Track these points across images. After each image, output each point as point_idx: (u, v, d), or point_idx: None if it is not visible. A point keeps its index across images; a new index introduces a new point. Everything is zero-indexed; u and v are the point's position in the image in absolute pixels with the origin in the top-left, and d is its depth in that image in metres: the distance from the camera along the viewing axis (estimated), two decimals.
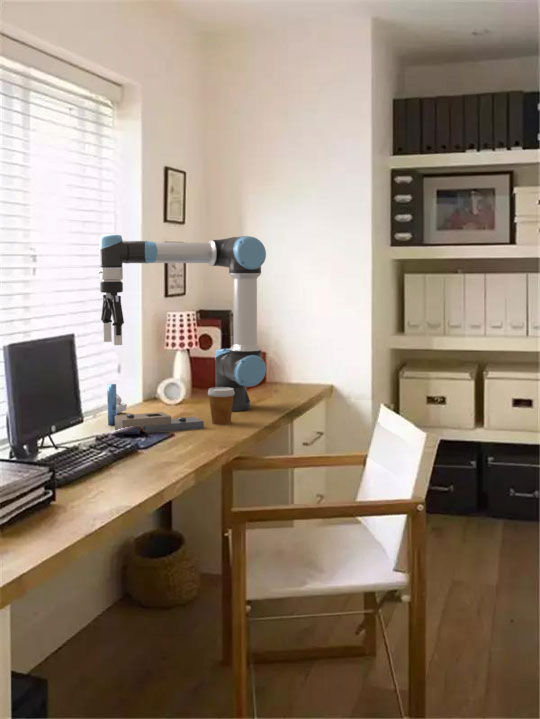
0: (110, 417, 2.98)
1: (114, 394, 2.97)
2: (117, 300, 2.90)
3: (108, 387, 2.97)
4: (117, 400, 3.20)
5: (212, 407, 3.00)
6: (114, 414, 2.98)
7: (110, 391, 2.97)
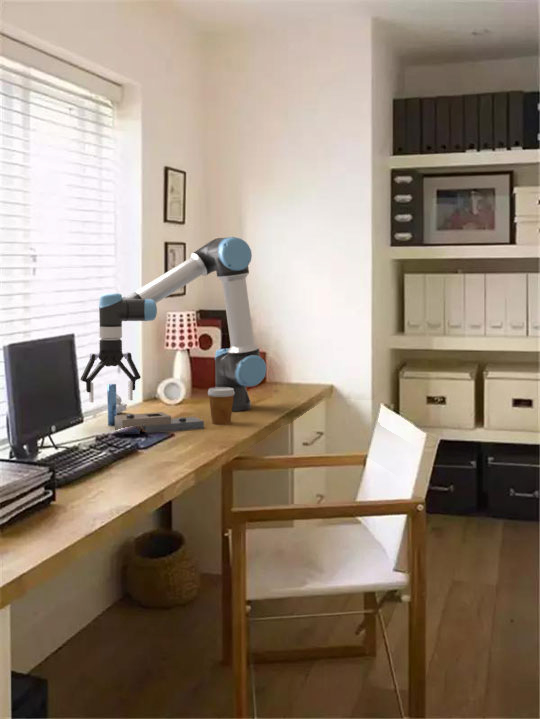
0: (110, 417, 2.98)
1: (114, 394, 2.97)
2: (90, 358, 2.94)
3: (108, 387, 2.97)
4: (117, 400, 3.20)
5: (212, 407, 3.00)
6: (114, 414, 2.98)
7: (110, 391, 2.97)
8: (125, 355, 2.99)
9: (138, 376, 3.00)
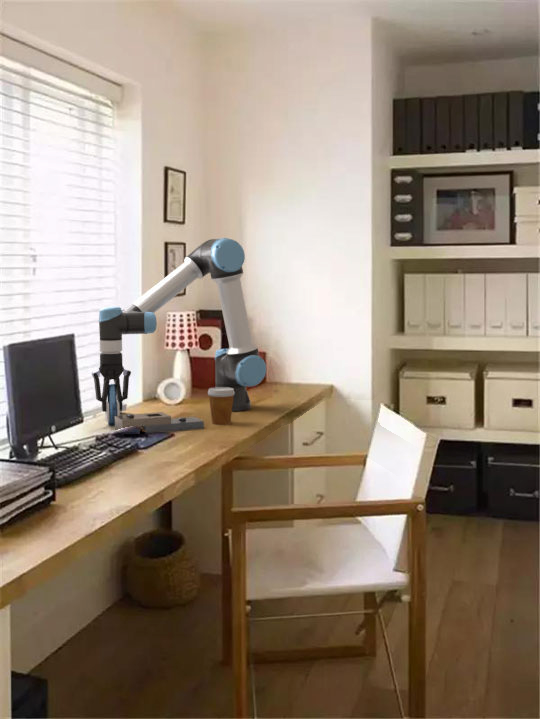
0: (110, 417, 2.98)
1: (114, 394, 2.97)
2: (94, 377, 2.95)
3: (108, 387, 2.97)
4: (117, 400, 3.20)
5: (212, 407, 3.00)
6: (114, 414, 2.98)
7: (110, 391, 2.97)
8: (125, 371, 2.99)
9: (125, 396, 2.99)
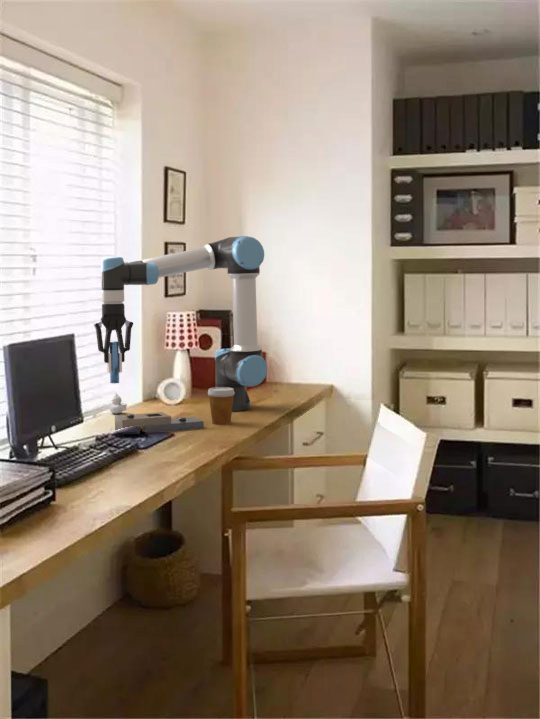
0: (112, 375, 2.95)
1: (116, 351, 2.95)
2: (96, 328, 2.92)
3: (110, 344, 2.95)
4: (117, 400, 3.20)
5: (212, 407, 3.00)
6: (116, 372, 2.96)
7: (112, 348, 2.94)
8: (127, 322, 2.97)
9: (128, 347, 2.97)
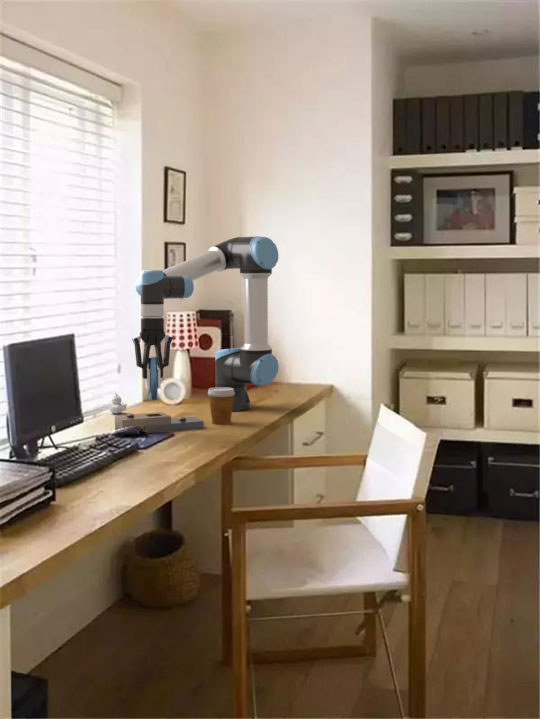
0: (151, 391, 2.87)
1: (155, 367, 2.87)
2: (134, 342, 2.84)
3: (149, 360, 2.86)
4: (117, 400, 3.20)
5: (212, 407, 3.00)
6: (155, 388, 2.87)
7: (151, 363, 2.86)
8: (166, 337, 2.88)
9: (167, 363, 2.89)
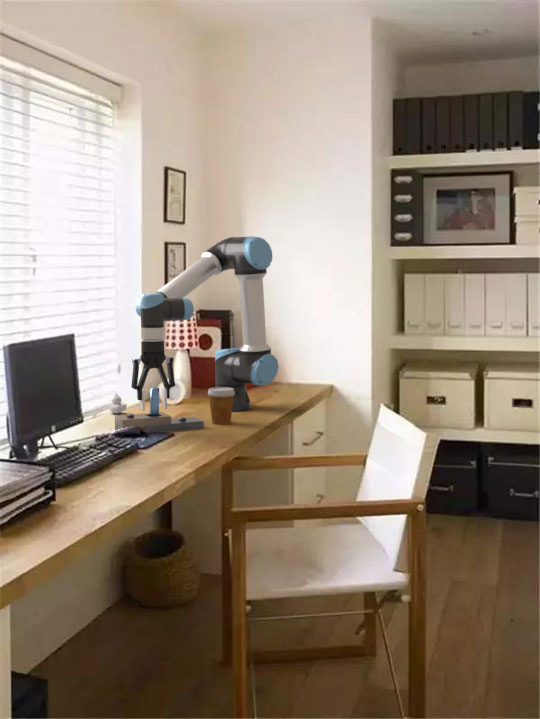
0: None
1: (157, 398, 2.88)
2: (134, 364, 2.85)
3: (151, 391, 2.88)
4: (117, 400, 3.20)
5: (212, 407, 3.00)
6: None
7: (153, 394, 2.88)
8: (167, 359, 2.89)
9: (173, 384, 2.90)
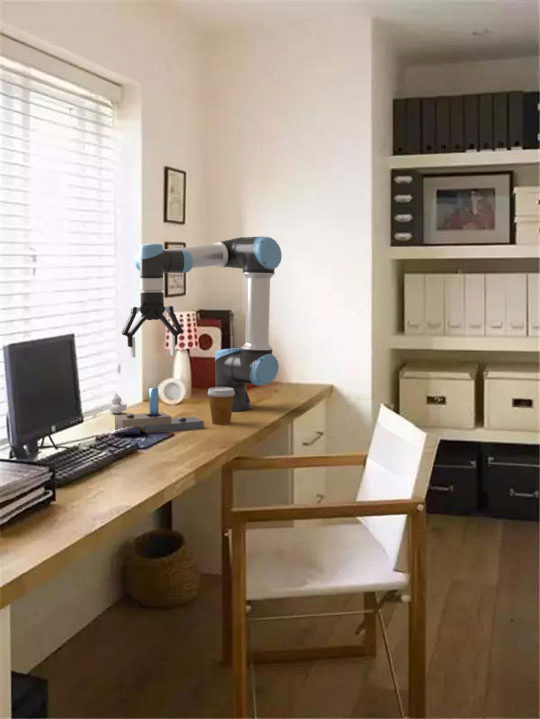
0: None
1: (156, 398, 2.88)
2: (132, 311, 2.83)
3: (150, 391, 2.88)
4: (117, 400, 3.20)
5: (212, 407, 3.00)
6: None
7: (152, 395, 2.87)
8: (167, 308, 2.88)
9: (180, 330, 2.90)
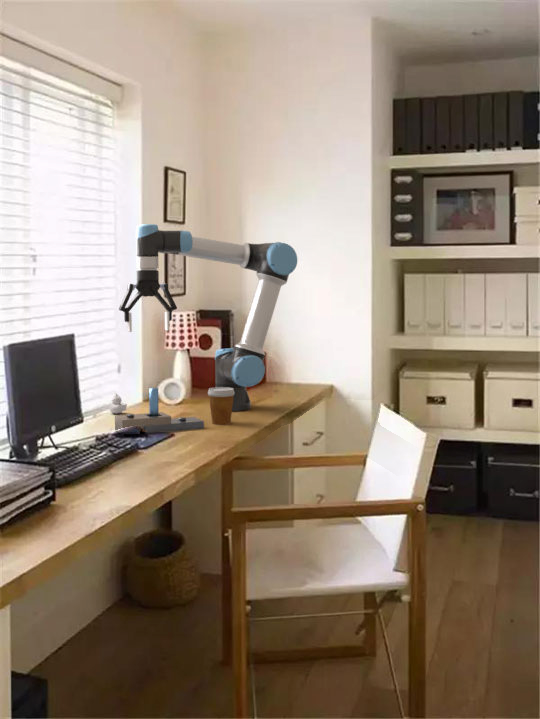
0: None
1: (156, 398, 2.88)
2: (128, 288, 2.99)
3: (150, 391, 2.88)
4: (117, 400, 3.20)
5: (212, 407, 3.00)
6: None
7: (152, 395, 2.87)
8: (162, 286, 3.04)
9: (174, 307, 3.06)
